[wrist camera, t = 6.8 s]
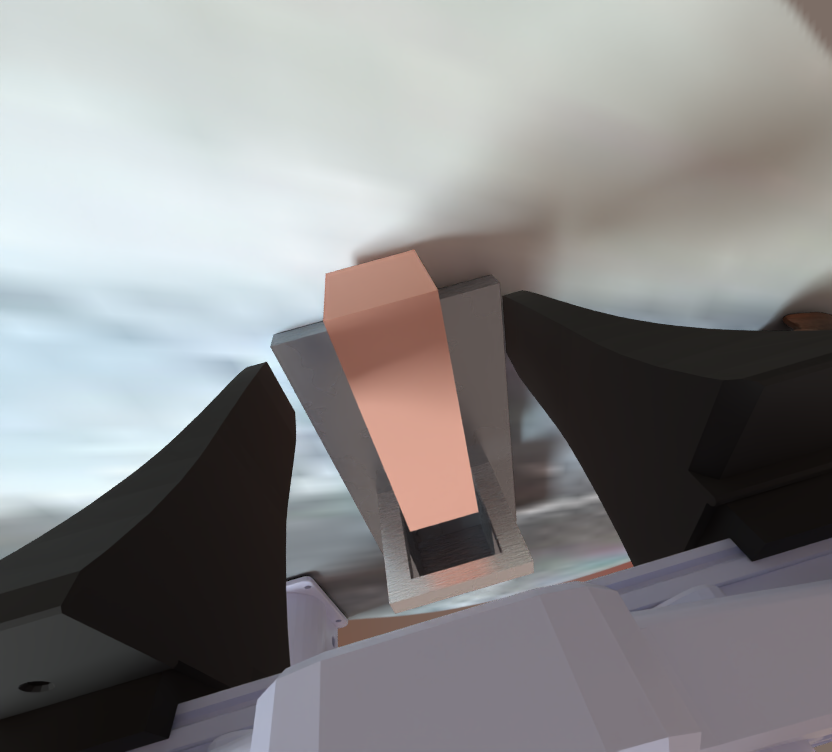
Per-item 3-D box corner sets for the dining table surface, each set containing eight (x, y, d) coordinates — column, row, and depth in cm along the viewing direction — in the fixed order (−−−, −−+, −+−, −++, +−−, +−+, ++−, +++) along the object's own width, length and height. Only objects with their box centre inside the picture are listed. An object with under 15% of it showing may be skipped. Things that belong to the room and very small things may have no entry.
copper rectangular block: (456, 451, 21) (478, 511, 18) (398, 468, 21) (410, 531, 18) (414, 249, 14) (438, 289, 11) (325, 273, 14) (323, 321, 11)
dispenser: (511, 509, 28) (557, 613, 22) (384, 546, 27) (397, 661, 22) (491, 274, 16) (577, 363, 10) (273, 335, 16) (239, 459, 10)
